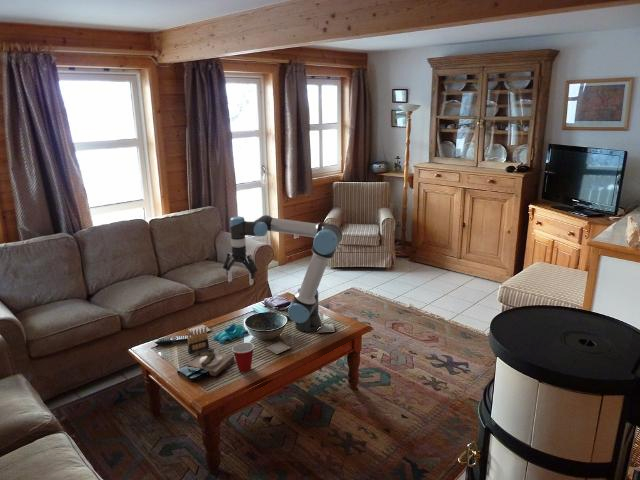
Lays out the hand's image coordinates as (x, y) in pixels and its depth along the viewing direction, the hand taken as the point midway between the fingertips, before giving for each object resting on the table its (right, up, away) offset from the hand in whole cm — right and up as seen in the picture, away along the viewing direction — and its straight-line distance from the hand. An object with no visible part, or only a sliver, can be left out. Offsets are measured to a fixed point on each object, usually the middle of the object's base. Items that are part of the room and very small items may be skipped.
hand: (240, 282), depth 263 cm
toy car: (-6, -30, +2) cm, 31 cm away
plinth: (-10, -38, -28) cm, 48 cm away
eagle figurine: (-11, -36, -30) cm, 48 cm away
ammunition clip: (-20, -34, -13) cm, 41 cm away
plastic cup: (+7, -39, -32) cm, 51 cm away
